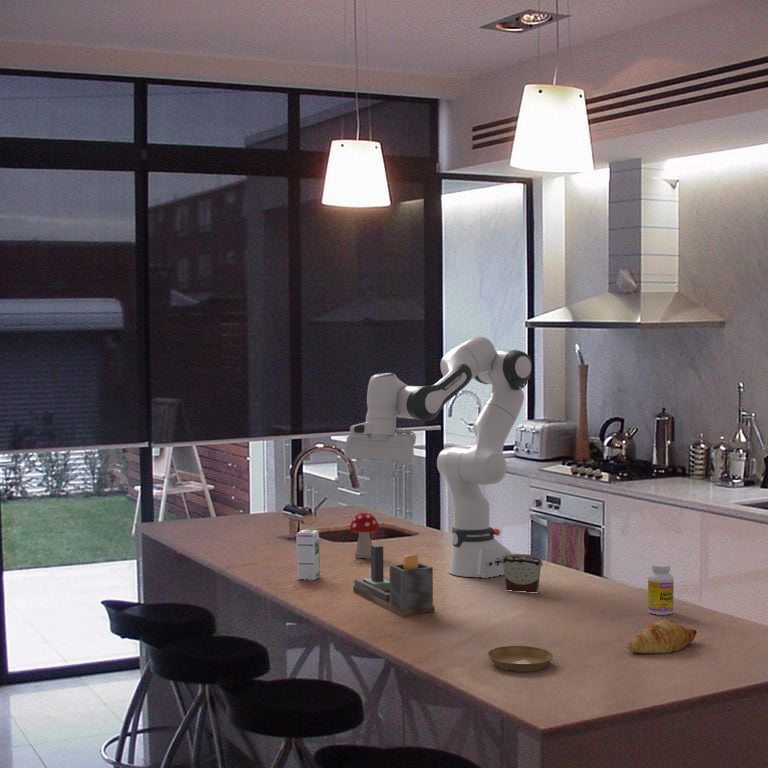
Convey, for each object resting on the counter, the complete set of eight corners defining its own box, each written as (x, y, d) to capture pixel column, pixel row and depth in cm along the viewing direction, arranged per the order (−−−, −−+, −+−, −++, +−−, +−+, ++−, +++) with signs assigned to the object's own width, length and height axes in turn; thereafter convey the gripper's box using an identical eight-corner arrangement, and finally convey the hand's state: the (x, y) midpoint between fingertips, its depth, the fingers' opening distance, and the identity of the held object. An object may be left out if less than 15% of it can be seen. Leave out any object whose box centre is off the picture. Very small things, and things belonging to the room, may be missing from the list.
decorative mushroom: (381, 555, 390) (381, 511, 390) (377, 560, 382) (376, 515, 381) (352, 554, 392) (352, 510, 391) (347, 559, 384) (346, 514, 383)
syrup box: (315, 580, 353) (314, 532, 352) (296, 579, 354) (296, 532, 353) (320, 576, 358) (319, 529, 358) (301, 575, 360) (301, 529, 359)
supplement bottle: (659, 617, 305) (659, 568, 304) (642, 611, 311) (642, 564, 310) (678, 614, 308) (679, 565, 307) (661, 608, 314) (662, 561, 313)
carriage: (380, 584, 339) (380, 542, 338) (392, 589, 331) (391, 547, 331) (362, 586, 336) (362, 544, 336) (374, 591, 329) (373, 549, 329)
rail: (384, 588, 342) (384, 547, 341) (434, 611, 313) (434, 567, 312) (353, 591, 337) (352, 550, 337) (400, 615, 308) (400, 571, 308)
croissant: (637, 672, 268) (648, 646, 265) (610, 643, 275) (620, 617, 272) (702, 656, 279) (714, 630, 276) (675, 628, 286) (686, 603, 283)
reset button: (414, 575, 316) (414, 553, 316) (421, 578, 313) (420, 556, 312) (401, 576, 315) (400, 554, 314) (407, 579, 311) (407, 557, 311)
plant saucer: (547, 655, 271) (547, 644, 271) (558, 674, 256) (558, 663, 256) (483, 657, 270) (483, 645, 270) (491, 675, 256) (491, 664, 256)
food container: (548, 589, 337) (548, 555, 337) (542, 594, 332) (542, 559, 331) (508, 586, 343) (507, 552, 342) (501, 590, 337) (500, 556, 336)
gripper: (416, 430, 342) (414, 477, 341) (347, 426, 343) (344, 473, 343) (415, 430, 335) (413, 478, 335) (345, 426, 337) (342, 474, 337)
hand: (378, 475), depth 339 cm, fingers open, 8 cm apart
